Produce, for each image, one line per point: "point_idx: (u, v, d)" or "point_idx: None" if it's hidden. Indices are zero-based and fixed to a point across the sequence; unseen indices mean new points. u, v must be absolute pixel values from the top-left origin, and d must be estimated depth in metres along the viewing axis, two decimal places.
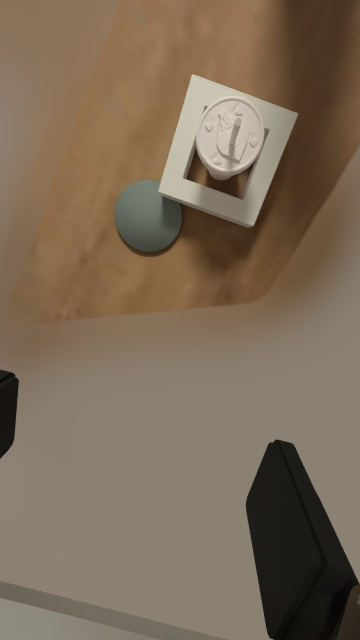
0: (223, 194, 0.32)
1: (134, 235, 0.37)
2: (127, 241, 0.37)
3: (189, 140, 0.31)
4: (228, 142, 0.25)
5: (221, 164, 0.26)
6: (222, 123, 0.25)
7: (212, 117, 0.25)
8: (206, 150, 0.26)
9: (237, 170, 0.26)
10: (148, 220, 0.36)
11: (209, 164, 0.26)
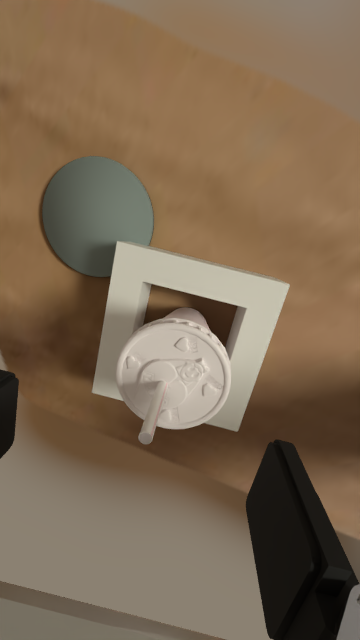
0: None
1: (63, 197, 0.21)
2: (51, 184, 0.21)
3: (197, 287, 0.19)
4: (159, 379, 0.15)
5: (127, 369, 0.15)
6: (187, 367, 0.14)
7: (197, 349, 0.14)
8: (146, 343, 0.14)
9: (122, 394, 0.15)
10: (91, 220, 0.22)
11: (124, 350, 0.14)
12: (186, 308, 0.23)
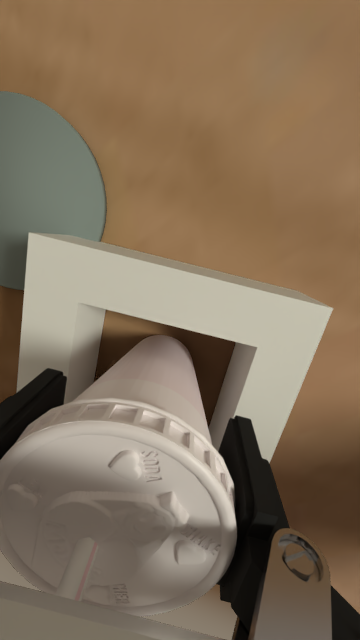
0: None
1: None
2: None
3: (172, 312, 0.11)
4: (79, 536, 0.07)
5: (11, 509, 0.07)
6: (140, 513, 0.06)
7: (159, 474, 0.06)
8: (44, 460, 0.06)
9: (9, 553, 0.07)
10: (5, 200, 0.14)
11: None
12: (160, 338, 0.15)
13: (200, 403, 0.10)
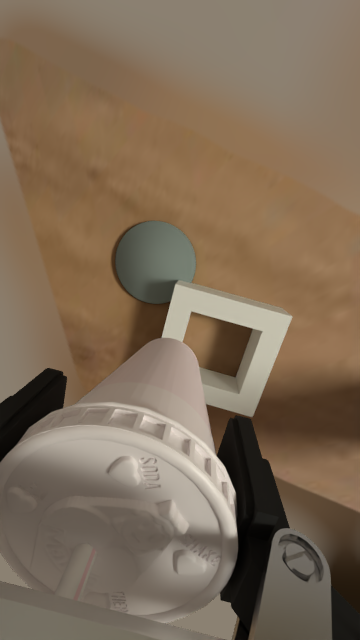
0: None
1: (132, 247, 0.30)
2: (124, 238, 0.30)
3: (229, 316, 0.28)
4: (77, 542, 0.06)
5: (11, 512, 0.07)
6: (138, 521, 0.06)
7: (159, 481, 0.06)
8: (43, 463, 0.06)
9: (8, 556, 0.07)
10: (151, 264, 0.30)
11: None
12: (165, 341, 0.14)
13: (204, 408, 0.10)
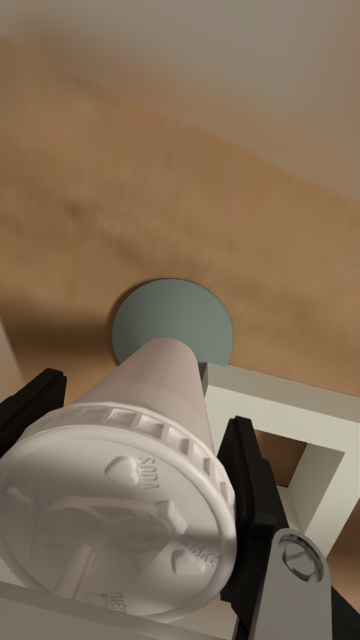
0: None
1: (136, 317, 0.20)
2: (124, 304, 0.20)
3: (293, 431, 0.18)
4: (75, 542, 0.06)
5: (9, 512, 0.07)
6: (137, 521, 0.06)
7: (157, 482, 0.06)
8: (41, 463, 0.06)
9: (6, 556, 0.07)
10: None
11: None
12: (164, 341, 0.14)
13: (203, 408, 0.10)
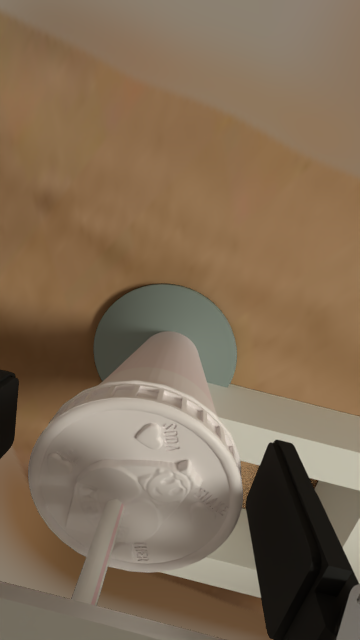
0: None
1: (122, 330, 0.17)
2: (107, 315, 0.17)
3: (310, 469, 0.15)
4: (108, 498, 0.08)
5: (50, 476, 0.08)
6: (161, 477, 0.07)
7: (178, 444, 0.07)
8: (80, 432, 0.07)
9: (45, 515, 0.08)
10: None
11: (39, 444, 0.08)
12: (169, 334, 0.16)
13: (208, 391, 0.11)
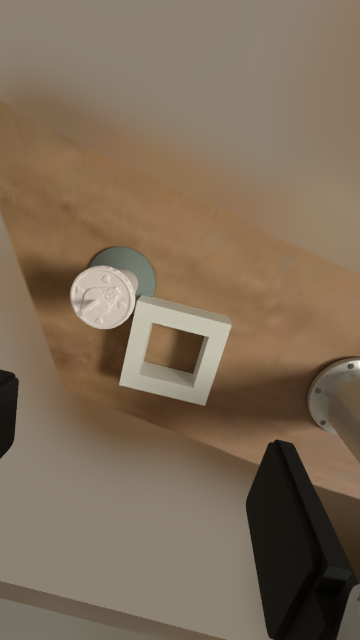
0: (141, 358, 0.36)
1: None
2: (94, 261, 0.36)
3: (181, 326, 0.34)
4: (94, 298, 0.27)
5: (76, 294, 0.27)
6: (109, 291, 0.27)
7: (113, 281, 0.27)
8: (86, 278, 0.27)
9: (74, 309, 0.27)
10: None
11: (74, 282, 0.27)
12: (122, 269, 0.35)
13: (132, 282, 0.31)
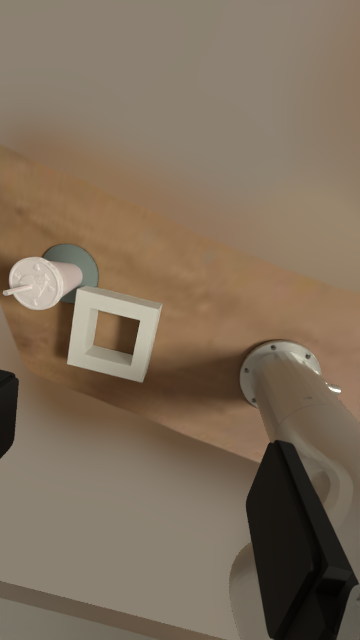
0: (84, 339, 0.41)
1: None
2: (44, 256, 0.41)
3: (116, 310, 0.39)
4: (27, 284, 0.33)
5: (14, 280, 0.33)
6: (39, 277, 0.32)
7: (42, 269, 0.32)
8: (20, 267, 0.32)
9: None
10: None
11: (11, 271, 0.32)
12: None
13: (67, 272, 0.36)
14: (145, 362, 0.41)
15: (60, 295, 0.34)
